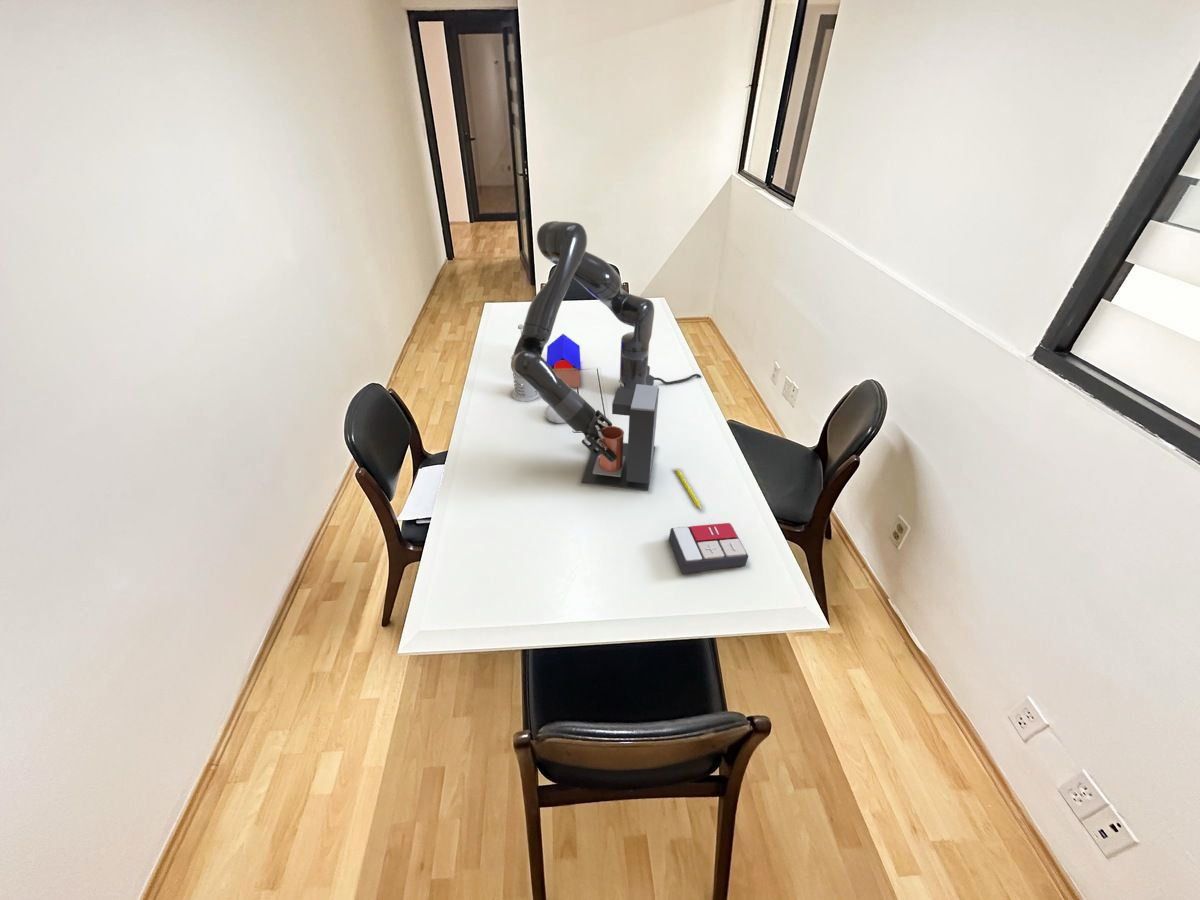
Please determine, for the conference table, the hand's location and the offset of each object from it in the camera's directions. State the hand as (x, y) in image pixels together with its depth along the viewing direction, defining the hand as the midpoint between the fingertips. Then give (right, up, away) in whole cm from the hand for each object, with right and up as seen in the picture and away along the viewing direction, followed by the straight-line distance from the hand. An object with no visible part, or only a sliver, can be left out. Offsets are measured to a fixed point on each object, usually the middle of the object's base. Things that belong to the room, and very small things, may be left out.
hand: (616, 450), depth 140 cm
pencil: (+19, -11, -1) cm, 22 cm away
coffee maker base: (+1, -4, +8) cm, 9 cm away
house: (-18, +28, +51) cm, 61 cm away
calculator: (+20, -24, -19) cm, 36 cm away
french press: (-30, +20, +40) cm, 54 cm away
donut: (-17, +11, +28) cm, 34 cm away
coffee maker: (+2, -4, +3) cm, 5 cm away
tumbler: (-2, -4, +3) cm, 5 cm away
